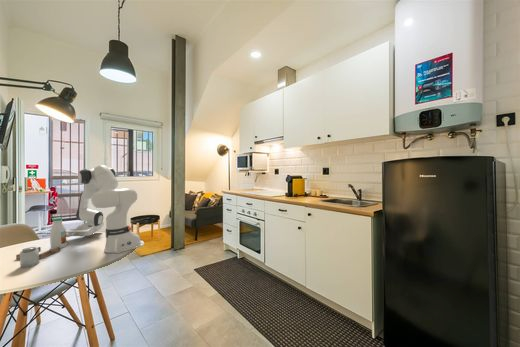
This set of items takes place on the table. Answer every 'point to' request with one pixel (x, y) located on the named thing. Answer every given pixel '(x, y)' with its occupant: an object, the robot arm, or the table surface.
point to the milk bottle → (57, 234)
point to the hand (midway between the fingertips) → (66, 236)
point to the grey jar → (29, 257)
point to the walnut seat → (43, 253)
